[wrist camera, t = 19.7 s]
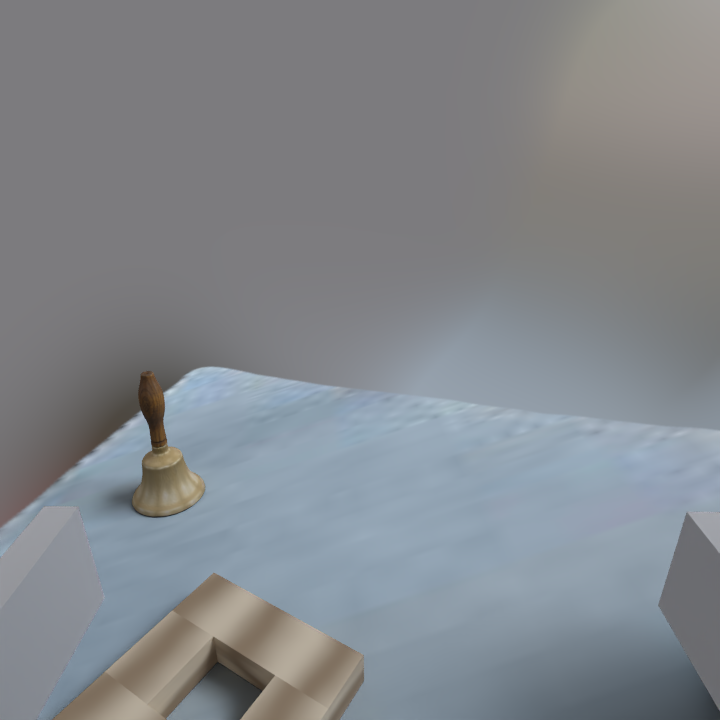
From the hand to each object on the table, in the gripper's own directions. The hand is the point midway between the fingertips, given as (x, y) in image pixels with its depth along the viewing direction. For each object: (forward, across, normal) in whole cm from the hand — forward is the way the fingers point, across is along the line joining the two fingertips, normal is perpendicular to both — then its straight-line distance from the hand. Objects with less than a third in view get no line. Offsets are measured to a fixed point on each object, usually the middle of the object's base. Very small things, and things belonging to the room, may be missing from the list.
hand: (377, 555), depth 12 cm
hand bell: (+42, -25, -32) cm, 58 cm away
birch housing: (+16, -12, -32) cm, 38 cm away
